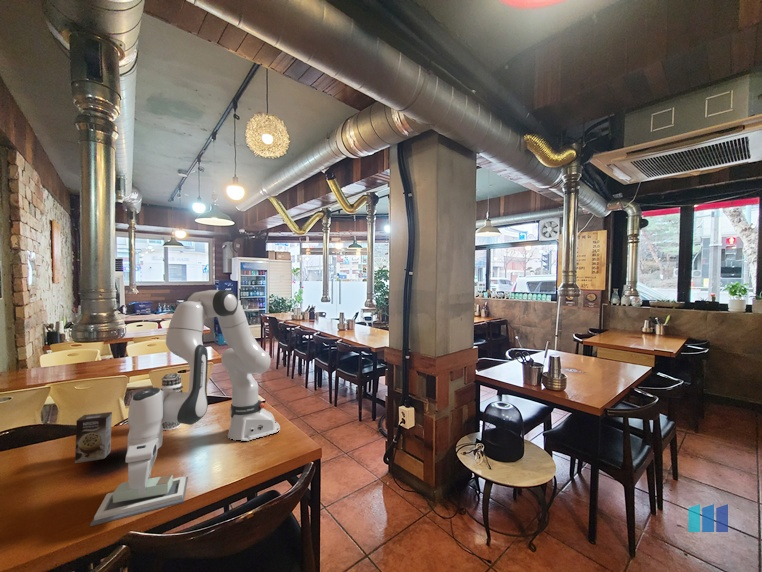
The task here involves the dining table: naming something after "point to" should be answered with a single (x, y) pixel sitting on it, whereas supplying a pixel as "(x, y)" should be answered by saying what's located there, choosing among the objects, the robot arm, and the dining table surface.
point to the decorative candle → (174, 385)
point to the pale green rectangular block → (152, 489)
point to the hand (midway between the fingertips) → (144, 486)
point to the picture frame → (140, 503)
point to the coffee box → (93, 437)
